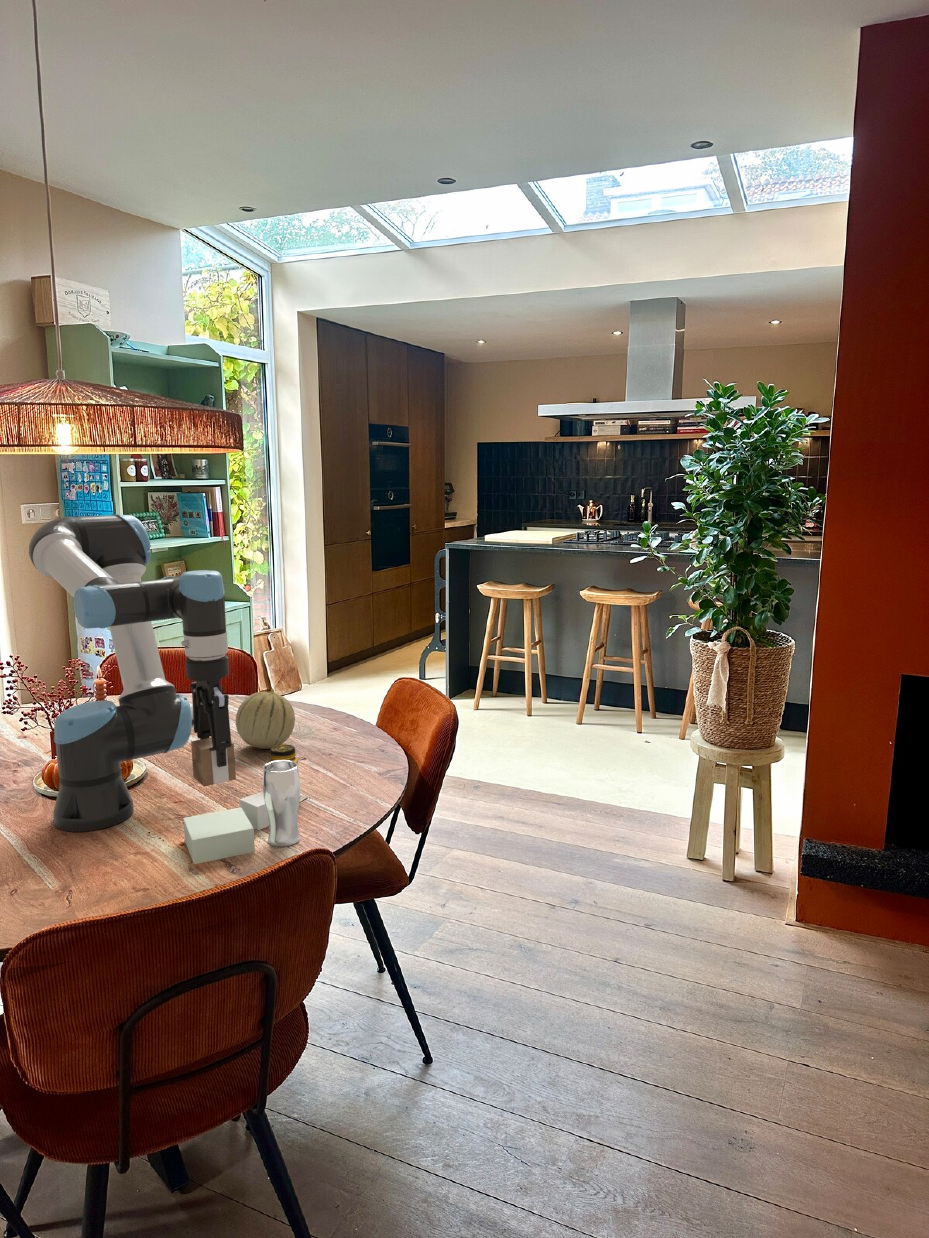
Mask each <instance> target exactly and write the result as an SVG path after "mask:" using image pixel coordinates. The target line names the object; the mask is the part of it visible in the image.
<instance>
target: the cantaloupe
mask: <svg viewBox="0 0 929 1238" xmlns="http://www.w3.org/2000/svg"><path fill="white" fill-rule="evenodd" d="M235 716H236V717H235V726H236V727H235V728H236V731H237V733H238V735H239V737H240V738H241V739H242V741H243V742H244V743H246V744H247V745H249V746H252V747H254V748H256V749H258V750H259V749H261V750H263V749H266V750H270V749H271V748H272V747H274V746H278V745H284V743H285V742H286V741H287V740H289V738H290V736H291V735H292V734H293V730H294V729H295V728H294V727H295V723H296V716H295V711H294V708H293V706H292V704H291V702H290V701H289V700H288V699H287V698H286V697H284V696H283V695H280V694H278V693H276V692H275V690H274V688H270V691H269V692H267V691H259V692H255V693H254V692H253V693H252V694H249V695H248V697H246V698H245V699H244V700H243V701H242V702H241V704H240V705H239V707H238V709H237V711H236V714H235Z"/></svg>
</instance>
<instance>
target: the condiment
mask: <svg viewBox="0 0 929 1238" xmlns="http://www.w3.org/2000/svg"><path fill="white" fill-rule="evenodd" d="M269 753H270V755H269V759H270V760H269V762H273V761H278V760H290V761H294V762H296V763H297V764H298V765H299V762H298V759H297V757H296V755H297V753H296V747H295V746H294V745H292V744H281V745H278V746H274V747H272V748H271V749H269ZM269 762H268V763H269ZM307 798H309V796H307V795H302V794H300V800H299V803H301V802H302V801H304V800H305V799H307Z"/></svg>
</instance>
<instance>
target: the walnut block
mask: <svg viewBox="0 0 929 1238" xmlns="http://www.w3.org/2000/svg"><path fill="white" fill-rule="evenodd" d="M231 743H232V746H231V747H228V748H227V758H228V773H229V781H228V782H230V781H235V780H237V776H236V774H237V773H236V760H235V759H236V757H235V743H234V742H233V741H231ZM190 745H191V748H190V749H191V758H192V759H191V762H192V777H193V778H194V780H196V781H197V782H198V783H199V784H200V785H202V786H203V787H208V786H213V785H215V784H214V783H213V772H212V758H211V751H210V750H209V748H212V747H213V745H212V739H211V737H209V738H206V739H201V740H200V739H197V740H191V741H190Z"/></svg>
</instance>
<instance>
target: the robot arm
mask: <svg viewBox="0 0 929 1238" xmlns="http://www.w3.org/2000/svg"><path fill="white" fill-rule="evenodd" d="M149 537H150V536H149V534H148V531H147V529H146V528H145V525H144V524H143V523H142V522H141V520H140V519H138V518H137V517H135V516H133V515H130V514H116V513H115V514H114V513H112V514H109V515H108V514H107V515H86V516H85V515H84V516H63V517H57V518H54V519H52V520H50V521H48V522H46V523H45V524H43V525H41V526H40V527H39V528H38V529H37V530H36V531H35V532H34V534H33V536H32V537H31V539H30V542H29V545H28V556H29V559H30V561H31V564H32V566H33V567H34V568H36V569H37V571H38V572H39V573H41V574H42V575H44V576H46V577H47V578H52V579H54V580H55V581H56V582H57V583H58V584H59V585H60V586H61V587H62V588H63V589H64V590H65V591H66V592H67V593H68V594H69V595H70V596H71V597H72V598H73V609H74V615H75V617H76V619H77V623H78V624H79V625H80V626H81V628H83V629H88V630H89V629H106V628H109V632H110V636H111V639H112V644H113V649H114V652H115V657H116V662H117V665H118V670H119V675H120V678H121V682H122V687H123V691H122V693H121V694H120V696H119V697H118V704H119V705H116V704H115V702H114V701H111V700H105V699H104V700H98V701H96V700H93V701H88V702H83V703H80V704H77V705H74V706H72V707H70V708H67V709H65V710H64V711H62V712H61V713H59V714H58V715H57V716H56V718H55V720H54V727H53V728H54V737H53V741H54V743H55V751H56V761H57V770H58V771H57V772H58V778H59V779H58V781H59V787H58V791H57V797H56V800H55V804H54V808H53V811H52V817H53V818H52V819H53V825H54V827H56V829H59V830H60V831H61V830H62V831H66V832H90V831H96V830H102V829H105V828H109V827H112V826H115V825H118V824H121V823H122V822H124V821H126V820H128V819H129V818H130V817H131V816H132V815H133V813H134V800H133V798H132V796H131V794H130V792H129V789H128V787H127V785H126V782H125V781H124V778H123V777H122V776H123V775H122V767H121V766H122V763H124V762H128V761H133V760H137V759H143V758H147V757H151V756H155V755H160V754H168V753H169V752H172V751H175V750H179V749H181V748H183V747H184V746H185V745H186V744H187V743H188V741H189V740H190V737H191V732H192V729H193V732H194V733H195V734H196V736H197V738H198V739H197V740H201V739H206V738H211V739H212V745H213V747H212V748H209V750H210V751H211V758H212V772H213V783H214V784H213V785H217V784H221V783H226V782H230V781H229V773H228V758H227V748H228V747H231V746H232V743H231V742H232V737H231V736H232V735H231V725H230V713H229V711H230V710H229V699H230V697H229V694H227V693H226V694H224V688H223V686H222V685H221V680H222V679H224V678H226V677H228V676H229V674H230V665H229V656H227V655H226V654H228V652H229V644H228V643H229V642H228V632H227V625H226V624H227V620H226V598H225V595H226V590H225V586H224V580H223V575H222V574H221V572H219V571H217V570H209V569H208V570H206V569H202V570H201V569H200V570H198V569H197V570H191V571H185V572H182V573H181V574H180V575H173V576H172V575H169V576H165V577H162V578H160V579H153V580H152V579H151V580H143V581H142V576H143V575H144V574H145V572H146V571H147V567H146V566H147V565H148V564H149V562H150V561H151V558H152V550H151V547H152V546H151V542H150V541H151V540H150V538H149ZM172 619H173V620H174V619H181V622H182V633H183V640H182V641H180V644H181V646H182V647H184V655H185V656H186V659H185V663H184V664H185V677H186V678H187V679H188V680H191V681H193V682H191V683H190V685H189V686H190V690H191V697H192V698H191V700H192V705H193V720H192V714H191V705H190V701H189V700H188V697H186V695H185V694H181V693H177V691H176V688H175V685H174V684H172V683H171V682H169V681H167V680H166V677H165V672H164V669H163V665H162V661H161V657H160V652H159V649H158V644H157V640H156V636H155V632H154V628H153V623H152V622H155V621H156V622H157V621H158V622H159V621H163V620H164V621H166V620H172ZM192 726H193V727H192Z"/></svg>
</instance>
